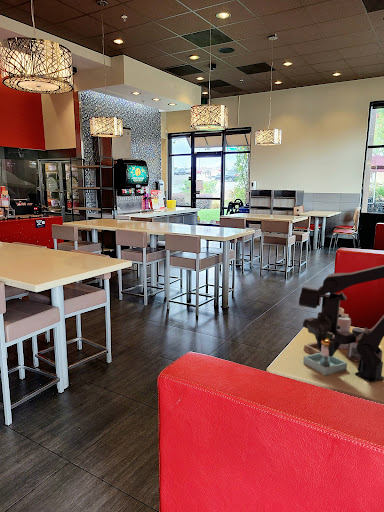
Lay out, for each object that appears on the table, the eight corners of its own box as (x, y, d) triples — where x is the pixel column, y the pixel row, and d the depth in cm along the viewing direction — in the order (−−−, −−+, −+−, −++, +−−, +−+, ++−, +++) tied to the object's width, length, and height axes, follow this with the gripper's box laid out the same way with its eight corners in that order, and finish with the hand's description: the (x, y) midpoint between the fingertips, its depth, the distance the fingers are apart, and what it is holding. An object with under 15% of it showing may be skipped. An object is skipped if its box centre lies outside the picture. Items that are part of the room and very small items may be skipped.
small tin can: (333, 366, 133) (336, 342, 131) (324, 368, 131) (328, 344, 129) (324, 361, 136) (327, 337, 134) (315, 363, 134) (318, 339, 132)
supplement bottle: (349, 353, 145) (352, 325, 143) (365, 358, 141) (369, 329, 140) (344, 358, 141) (347, 329, 139) (361, 363, 137) (364, 333, 135)
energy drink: (345, 344, 154) (348, 316, 152) (349, 349, 149) (353, 320, 147) (332, 343, 154) (335, 315, 152) (335, 348, 149) (338, 319, 147)
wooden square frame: (330, 354, 144) (331, 348, 144) (317, 357, 141) (318, 351, 140) (316, 347, 150) (317, 341, 150) (303, 350, 147) (304, 344, 146)
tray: (346, 369, 131) (347, 363, 131) (325, 375, 127) (326, 368, 126) (323, 358, 140) (324, 351, 140) (303, 363, 135) (303, 356, 135)
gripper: (293, 305, 134) (289, 347, 137) (335, 322, 118) (330, 369, 121) (316, 302, 140) (312, 342, 142) (359, 317, 123) (354, 362, 126)
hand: (325, 353), depth 133 cm, fingers open, 4 cm apart
